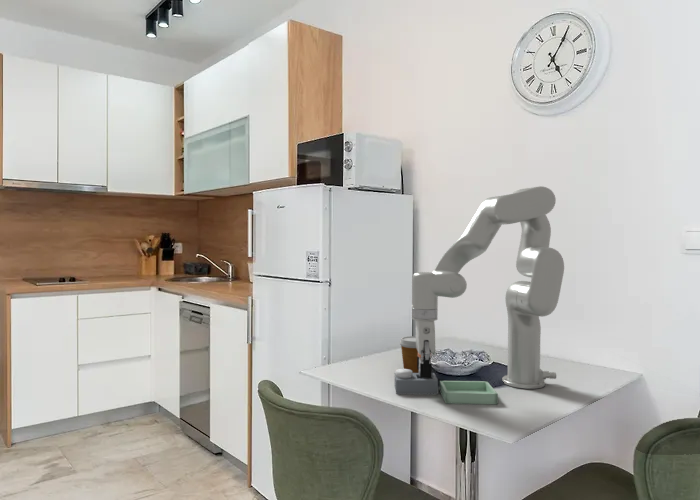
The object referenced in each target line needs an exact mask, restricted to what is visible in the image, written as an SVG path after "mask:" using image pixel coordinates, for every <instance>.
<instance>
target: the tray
mask: <svg viewBox="0 0 700 500" xmlns="http://www.w3.org/2000/svg"><path fill="white" fill-rule="evenodd" d="M438 391H439V392H440V394H441V397H442V399H443V401H444V403H445V404H446V405H447V404H448V405H449V404H457V405H458V404H459V405H461V404H463V405H464V404H465V405H469V404H470V405H498V404H499V403H498V402H499V401H498V399H499V397H498V396H499V394H498V393H497V391H496V390H495V389H494V387H492V385H491V384H490V383H489V381H487V380H486V381H485V380H484V381H481V380H439V384H438Z"/></svg>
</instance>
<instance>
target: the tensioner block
mask: <svg viewBox="0 0 700 500" xmlns="http://www.w3.org/2000/svg"><path fill="white" fill-rule="evenodd" d="M394 389H395V394H396V395H438V394H439V379H438V377H437V376H436V374H435V372H432V377H431V378H430V379H419V373H412V370H409V369H404V368H397V369H395V371H394Z"/></svg>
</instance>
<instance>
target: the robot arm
mask: <svg viewBox="0 0 700 500" xmlns="http://www.w3.org/2000/svg"><path fill="white" fill-rule="evenodd" d="M556 199H557V198H556V195H555V193H554V192H553V190H552V189H550V188H548V187H546V186H543V185H542V186H540V185H539V186H532V187H526V188H521V189H518V190H516V191H514V192H512V193H510V194H503V195H497V196H496V195H495V196H491V197H488V198H486V199H484V200H482V202H481V203H480V204H479V206H478V208H477V210H476V212H475V213H474V214H473V216H472V218H471V219H470V221H469V223H468V224H467V226H466V228H465V229H464V230H463V233H462V234H461V236H460V237H459V238H458V239H457V240H456V241H455V242H454V243H453V245H451V246H450V247H449V248H448V249H447V250H446V252H444V253H443V255H442V256H441V258H440V259H439V261H438V262H437V264H436V266H435V267H434V269H433V271H432V272H429V271H428V272H427V271H426V272H425V271H420V272H415V273H413V275H412V277H411V320H413V321H415V336H416V348H417V351H418V353H419V354H420V355H421V363H420V377H421V378H431V377H432V373H433V371H432V367H433V366H432V365H433V363H432V355H433V356H434V355H436V353H437V352H436V328H435V327H436V325H435V321H437V320H438V311H439V310H438V306H439V297H443V298H444V297H445V298H451V299H452V298H458V297H460V296H461V297H462V295H463V294H464V293H465V292H466V290H467V281H466V279H465V277H464V276H463V275H462V274H460V271H461V270H462V268H464V267H465V265H467V264H468V263H470V262H471V261H472V260H474V259H476V258H478V257H480V256H481V255H482V254H484V253H485V252H486V251H487V250H488V249H489V247H490V245H491V243H492V242H493V239H494V238H495V237H496V235H497V233H498V231H500V228H501V227H502V225H511V224H512V225H513V224H516V223H519V224H520V227H521V232H520V233H521V235H520V241H519V247H518V251H517V257H516V261H515V267H516V270H517V272H518V273H519V274H520V275H522V276H524V277H527V278H530V279H531V280H530V281H527V280H519V281H515V282H513V283H511V284H510V285H509V286H508V288H507V289H506V291H505V292H506V293H505V305H506V306H505V307H506V313H507V374H505V375H504V376H503V377H502V378H501V379H502V381H503V382H504V383H503V382H502V383H503V384H505V385H506V386H509V387H512V388H516V389H527V390H534V389H535V390H536V389H541V388H544V387H545V386H546V379H550V380H551V379H552V380H553V379H554V380H556V379H557V373H556V372H555V371H552V372H550V371H548V370H543V369H541V334H542V333H541V330H542V327H541V320H540V317H547V316H549V315H551V314H553V312H554V311H555V309H556V307H557V305H558V303H559V298H560V293H561V289H562V283H563V277H564V273H565V262H564V258H563V256H562V254H561V253H560V252H559V251H558V250H557V249H555V248H552V247H550V244H551V243H550V240H551V236H552V230H551V229H552V228H551V223H550V221H549V219H548V217H547V215H548V214H549V213H551V211H553V209H554V208H555V205H556ZM422 352H425V353H422ZM423 356H424V357H423ZM417 369H418V370H419V357H418V356H417Z"/></svg>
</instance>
